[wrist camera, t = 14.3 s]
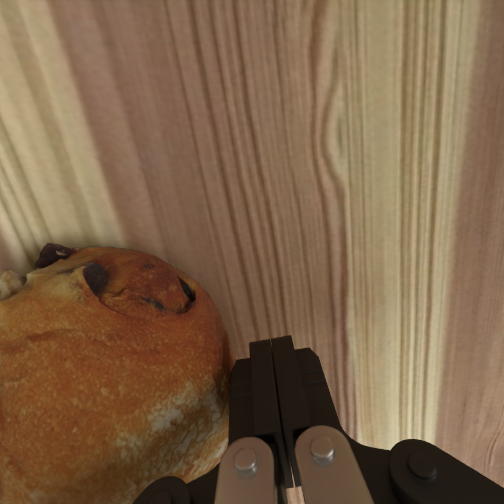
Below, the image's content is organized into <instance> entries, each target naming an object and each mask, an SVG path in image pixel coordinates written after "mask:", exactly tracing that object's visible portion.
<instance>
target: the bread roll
mask: <svg viewBox="0 0 504 504" xmlns="http://www.w3.org/2000/svg"><path fill="white" fill-rule="evenodd" d="M235 363H236V360H235V358H234V355H233V353H232V351H231V348H230V342H229V338H228V336H227V333H226V330H225V328H224V326H223V323H222V320H221V317H220V315H219V313H218V311H217V309H216V308H215V306H214V303H213V301H212V300H211V298H210V296H209V294H208V293H207V292H206V291H205V290H203V288H202V287H201V286H200V285H199V283H197V282H196V281H195V280H193V279H192V278H191V277H189V276H188V275H186V274H184V273H183V272H181V271H179V270H178V269H176V268H174V267H173V266H171V265H169V264H168V263H166V262H165V261H163V260H161V259H159V258H158V257H156V256H153V255H149V254H146V253H143V252H136V251H131V250H126V249H117V248H113V247H88V248H83V249H78V248H72V249H70V248H67V247H64V246H61V245H59V244H53V243H47V244H46V246H44V247H43V249H42V251H41V253H40V257H39V259H38V260H37V261H36V262H35V270H34V271H32V272H30V273H28V274H27V278H24V277H22V276H20V275H18V274H16V273H14V272H12V271H11V270H8V269H0V504H132V503H133V502H134V501H135V500H136V498H137V497H138V496H139V495H140V494H141V493H142V491H143V490H144V489H145V488H146V487H147V486H148V485H150V484H151V483H152V482H154V481H155V480H157V479H160V478H162V477H166V476H175V477H178V478H180V479H182V480H183V481H184V482H185V483H186V484H187V483H189V482H190V481H192V480H194V479H196V478H198V477H200V476H202V475H204V474H206V473H207V472H209V471H210V470H212V469H213V468H214V467H215V466H216V465H217V463H218V462H219V461H220V460H221V457H222V455H223V453H224V451H225V450H226V449H227V446H228V433H229V404H230V376H231V371H232V369H233V367H234V365H235Z"/></svg>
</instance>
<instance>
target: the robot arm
mask: <svg viewBox="0 0 504 504" xmlns="http://www.w3.org/2000/svg"><path fill="white" fill-rule="evenodd" d="M271 343H272V347H271ZM249 347H250V358H246V359H240V360H237V361H236V363H235V365H234V367H233V369H232V371H231V376H230V404H229V433H228V446H227V449H226V450H225V451H224V453H223V455H222V457H221V460H220V462H219V463H218V464H217V465H216V466H215V467H214V468H213V469H212V470H210V471H209V472H207V473H206V474H204V475H202V476H200V477H198V478H196V479H194V480H192V481H190V482H189V483H187V484H186V483H185V482H184V481H183V480H182V479H180V478H178V477H175V476H166V477H162V478H160V479H157V480H155V481H154V482H152V483H151V484H150V485H148V486H147V487H146V488H145V489H144V490H143V491H142V493H141V494H140V495H139V496H138V497H137V498H136V500H135V501H134V502H133V503H132V504H288V501H287V493H286V488H293V487H294V486H293V479H292V472H293V477H294V481H295V486H296V487H298V486H301V487H302V492H303V497H304V502H305V504H504V488H503V487H501V486H500V485H498V484H496V483H495V482H493V481H492V480H490V479H488V478H487V477H485V476H483V475H482V474H480V473H479V472H477V471H475V470H474V469H472V468H470V467H469V466H467V465H465V464H464V463H462V462H461V461H459V460H457V459H456V458H454V457H452V456H451V455H449V454H448V453H446V452H444V451H443V450H441V449H439V448H438V447H436V446H434V445H432V444H431V443H428V442H426V441H422V440H417V439H407V440H403V441H400V442H398V443H397V444H395V445H394V447H393V448H392V449H391V451H390V450H384V449H378V448H372V447H368V446H364V445H362V444H360V443H358V442H356V441H354V440H353V439H351V438H350V437H349V436H348V435H347V434H346V433H345V432H344V430H343V429H342V427H341V425H340V422H339V419H338V416H337V413H336V410H335V407H334V404H333V401H332V398H331V394H330V391H329V388H328V385H327V382H326V379H325V376H324V372H323V369H322V366H321V363H320V360H319V357H318V356H317V355H316V354H315V353H314V352H313V351H312V350H311V349H310V348H303V349H297V350H294V345H293V341H292V337H291V335H289V336H283V337H277V338H271V342H270V339H266V340H261V341H255V342H250V343H249ZM272 350H273V352H272ZM290 463H291V465H290ZM291 467H292V472H291Z"/></svg>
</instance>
